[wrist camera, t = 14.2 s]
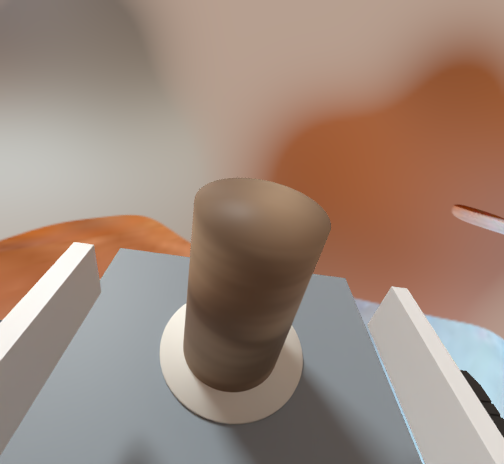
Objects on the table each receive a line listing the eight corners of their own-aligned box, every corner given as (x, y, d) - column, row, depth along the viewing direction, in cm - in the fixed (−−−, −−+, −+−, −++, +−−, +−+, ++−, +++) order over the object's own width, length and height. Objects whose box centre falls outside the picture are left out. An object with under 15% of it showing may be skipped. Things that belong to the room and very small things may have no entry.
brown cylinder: (272, 310, 21) (313, 187, 15) (283, 394, 16) (350, 258, 10) (190, 302, 20) (202, 170, 14) (174, 389, 15) (183, 238, 9)
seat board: (341, 286, 26) (346, 276, 25) (437, 535, 13) (452, 529, 12) (121, 257, 24) (120, 246, 23) (-39, 520, 11) (-52, 512, 10)
